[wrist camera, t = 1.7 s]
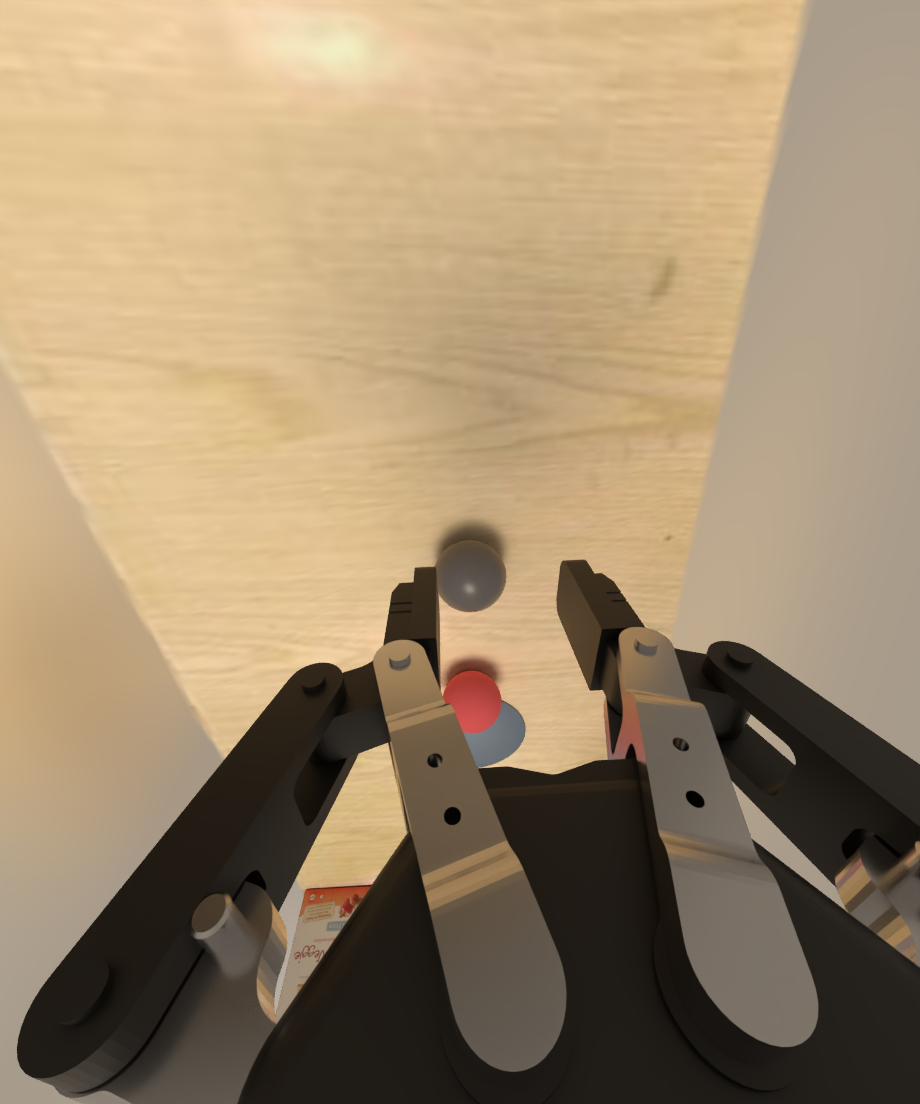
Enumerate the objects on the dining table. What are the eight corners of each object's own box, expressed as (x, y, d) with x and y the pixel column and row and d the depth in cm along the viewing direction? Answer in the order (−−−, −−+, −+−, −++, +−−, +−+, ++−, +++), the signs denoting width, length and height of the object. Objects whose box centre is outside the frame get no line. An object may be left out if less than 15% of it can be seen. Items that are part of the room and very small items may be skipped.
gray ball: (514, 555, 33) (527, 594, 28) (468, 596, 35) (473, 639, 30) (466, 514, 31) (472, 548, 26) (420, 559, 33) (417, 599, 28)
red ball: (508, 676, 40) (518, 724, 35) (470, 705, 42) (474, 754, 37) (469, 649, 38) (474, 696, 33) (430, 680, 40) (429, 729, 35)
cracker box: (398, 881, 61) (382, 1120, 42) (401, 899, 63) (387, 1130, 45) (303, 887, 60) (245, 1132, 42) (310, 904, 63) (260, 1141, 45)
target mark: (547, 728, 45) (547, 730, 44) (471, 779, 48) (471, 780, 48) (469, 678, 40) (469, 680, 40) (393, 738, 44) (393, 740, 44)
